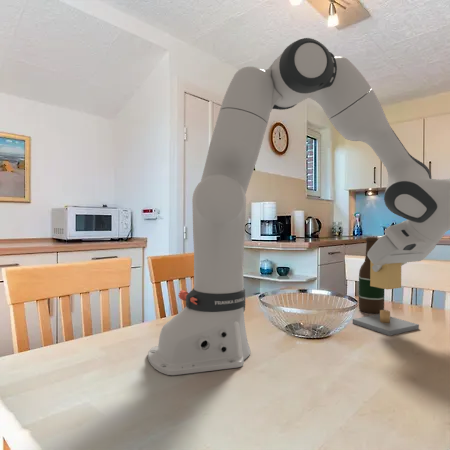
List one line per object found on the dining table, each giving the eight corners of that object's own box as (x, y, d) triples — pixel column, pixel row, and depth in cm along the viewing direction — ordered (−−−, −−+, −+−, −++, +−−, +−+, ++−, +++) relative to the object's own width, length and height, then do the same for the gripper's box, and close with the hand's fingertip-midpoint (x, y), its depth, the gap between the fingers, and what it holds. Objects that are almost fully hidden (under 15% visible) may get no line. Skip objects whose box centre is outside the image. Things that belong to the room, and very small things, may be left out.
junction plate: (389, 335, 90) (389, 319, 90) (352, 323, 100) (352, 308, 100) (418, 328, 95) (419, 313, 95) (381, 317, 106) (381, 304, 106)
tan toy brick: (387, 289, 94) (387, 255, 94) (370, 285, 99) (370, 253, 99) (401, 287, 96) (401, 254, 96) (383, 284, 101) (383, 252, 101)
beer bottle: (385, 309, 115) (386, 237, 115) (382, 315, 109) (383, 238, 108) (360, 306, 119) (361, 236, 119) (356, 311, 113) (356, 237, 112)
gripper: (433, 226, 96) (400, 258, 105) (382, 227, 87) (351, 262, 95) (450, 243, 92) (414, 275, 101) (399, 246, 83) (364, 281, 91)
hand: (383, 269), depth 98 cm, fingers closed on tan toy brick, 6 cm apart
